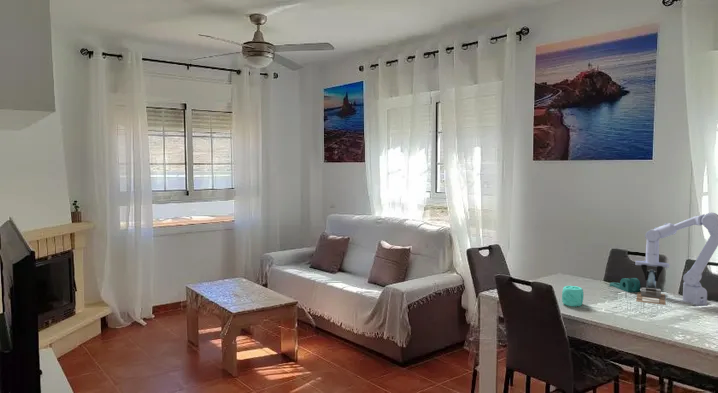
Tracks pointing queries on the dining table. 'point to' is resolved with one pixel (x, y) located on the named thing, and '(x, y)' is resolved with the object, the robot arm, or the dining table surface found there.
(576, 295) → the decorative dice
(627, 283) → the bracket
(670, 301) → the dining table surface
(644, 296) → the housing plate
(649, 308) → the dining table surface
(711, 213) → the robot arm
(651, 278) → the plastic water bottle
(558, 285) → the dining table surface
